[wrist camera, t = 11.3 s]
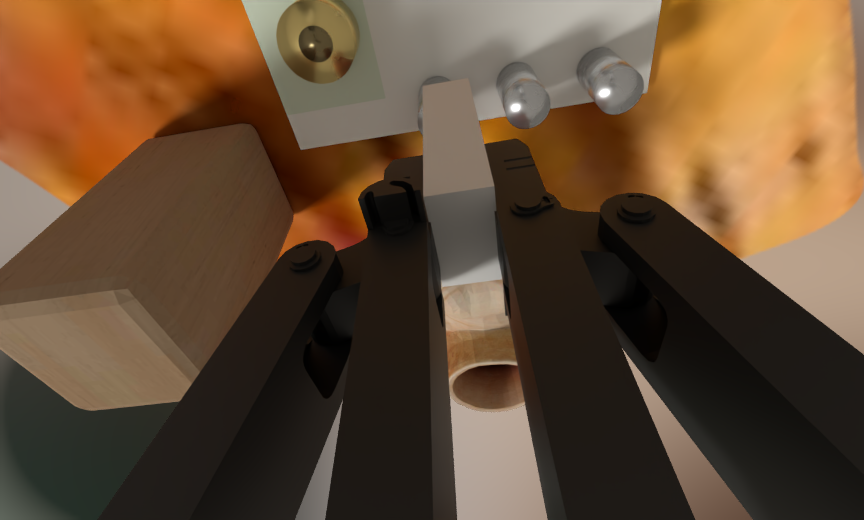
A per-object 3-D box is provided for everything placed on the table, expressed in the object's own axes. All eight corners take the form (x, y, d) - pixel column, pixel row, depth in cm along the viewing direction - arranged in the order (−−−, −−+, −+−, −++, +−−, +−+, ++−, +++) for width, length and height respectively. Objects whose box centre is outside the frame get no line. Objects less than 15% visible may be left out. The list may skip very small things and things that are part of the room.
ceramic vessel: (542, 108, 35) (600, 212, 24) (552, 318, 52) (588, 438, 40) (379, 142, 37) (359, 254, 25) (439, 335, 53) (443, 454, 42)
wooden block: (202, 230, 42) (78, 418, 27) (142, 136, 36) (-65, 313, 21) (299, 216, 41) (226, 403, 26) (255, 116, 35) (125, 287, 20)
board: (210, -96, 26) (204, -95, 26) (686, -204, 24) (694, -208, 23) (303, 144, 37) (300, 150, 36) (641, 88, 34) (647, 92, 33)
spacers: (379, -112, 25) (371, -113, 21) (681, -179, 23) (730, -193, 20) (422, 117, 34) (421, 145, 30) (642, 80, 32) (671, 105, 29)
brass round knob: (273, 6, 29) (260, 15, 27) (341, -20, 28) (334, -12, 26) (308, 78, 32) (299, 93, 30) (370, 57, 31) (366, 71, 29)
